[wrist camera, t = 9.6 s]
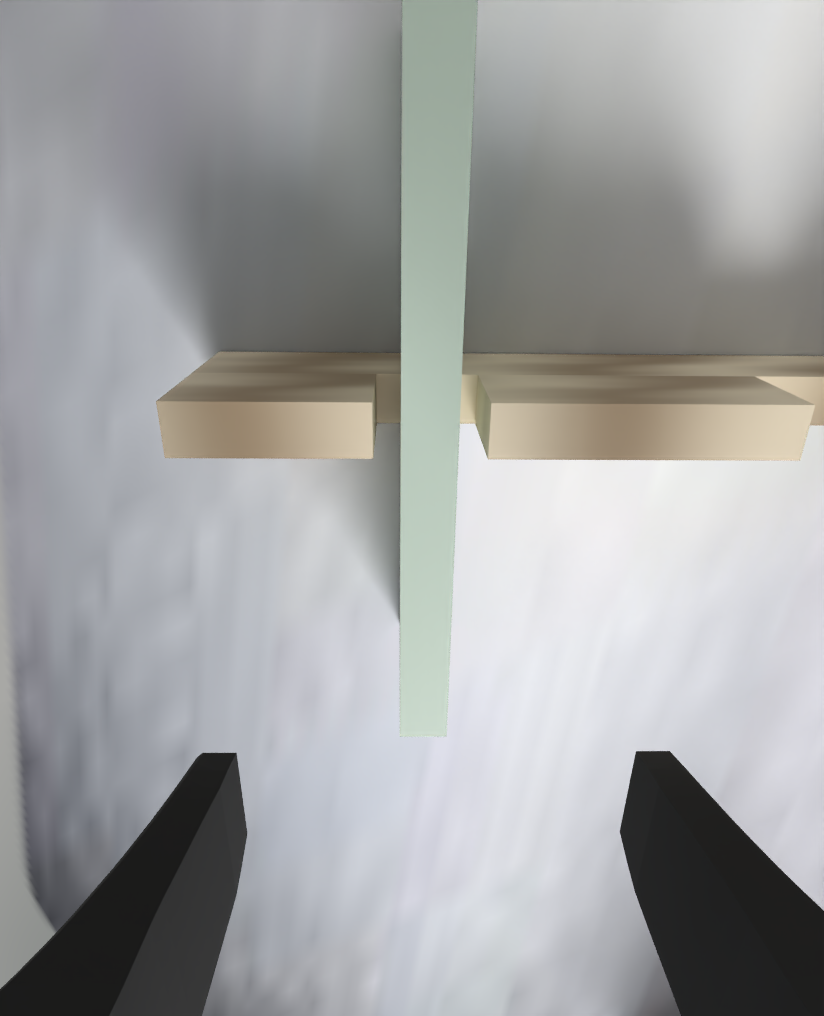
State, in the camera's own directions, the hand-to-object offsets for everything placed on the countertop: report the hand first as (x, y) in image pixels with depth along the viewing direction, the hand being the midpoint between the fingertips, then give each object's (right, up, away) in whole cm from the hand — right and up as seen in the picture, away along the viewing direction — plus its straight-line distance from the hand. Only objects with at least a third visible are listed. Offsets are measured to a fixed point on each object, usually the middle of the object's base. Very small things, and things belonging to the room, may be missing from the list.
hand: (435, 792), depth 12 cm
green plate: (0, +9, +6) cm, 11 cm away
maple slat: (+4, +9, +6) cm, 12 cm away
